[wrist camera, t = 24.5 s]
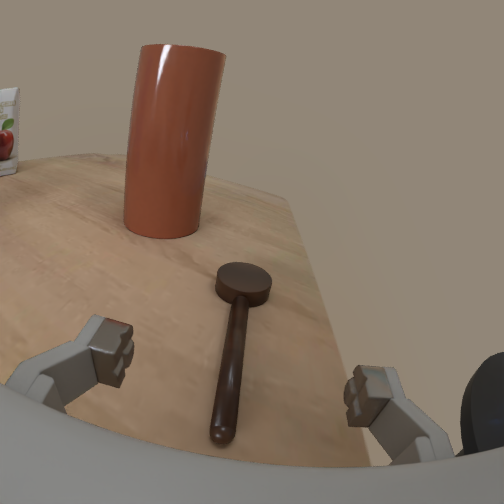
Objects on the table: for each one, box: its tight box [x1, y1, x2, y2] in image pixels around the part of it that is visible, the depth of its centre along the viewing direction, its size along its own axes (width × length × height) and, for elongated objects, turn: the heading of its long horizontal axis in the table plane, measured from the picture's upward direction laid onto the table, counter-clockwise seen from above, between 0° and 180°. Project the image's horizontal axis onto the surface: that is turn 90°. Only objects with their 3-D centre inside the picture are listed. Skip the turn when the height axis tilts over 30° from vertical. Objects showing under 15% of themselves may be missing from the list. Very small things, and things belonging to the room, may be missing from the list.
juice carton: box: [0, 88, 20, 176], centre depth 50 cm, size 8×9×19 cm
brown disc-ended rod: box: [210, 262, 272, 444], centre depth 26 cm, size 21×6×2 cm, turn 177°
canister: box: [124, 44, 226, 239], centre depth 40 cm, size 11×11×24 cm
